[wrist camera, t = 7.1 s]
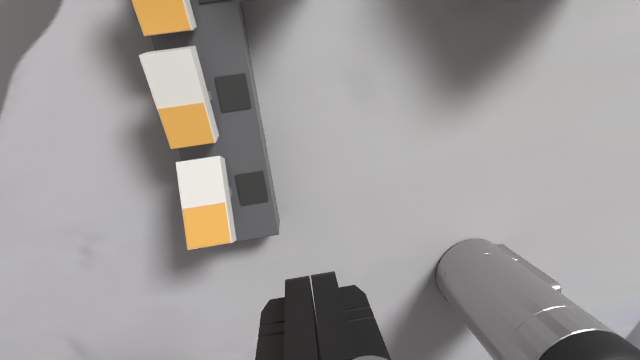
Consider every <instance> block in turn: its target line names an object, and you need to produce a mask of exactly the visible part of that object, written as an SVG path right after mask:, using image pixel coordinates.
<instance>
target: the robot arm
mask: <svg viewBox="0 0 640 360" xmlns="http://www.w3.org/2000/svg"><path fill="white" fill-rule="evenodd" d="M311 279H312V287H313V295H314V302H313V296H312V290H311V284H310V278H309V276H305V277H299V278H293V279H287V280H285V297H283V298H277V299H271V300H269V302H268V303H267V305H266V306H265V307H264V309H263V310H262V312H261V319H260V328H259V335H258V337H259V339H258V342H257V350H256V358H255V360H391V359H390V356H389V354H388V351H387V349H386V346H385V343H384V341H383V338H382V336H381V333H380V330H379V328H378V325H377V323H376V320H375V318H374V315H373V312H372V310H371V308H370V305H369V302H368V299H367V297H366V294H365V293H364V292H363V291H361V290H360V289H359V288H358V287H356V286H355V285H352V286H346V287H340V288H339V287H338V283H337V279H336V275H335V272H334V271H333V272H328V273H322V274H316V275H311ZM436 280H437V285H438V287H439V290H440V291H441V293H442V294H443V295H444V297H445V298H446V300H447V301H448V302H449V303H450V304H451V306H452V307H453V308H454V310H455V311H456V312H457V314H458V315H459V316H460V317H461V319H462V320H463V321H464V323H465V324H466V325H467V326H468V328H469V329H470V330H471V332H472V333H473V334H474V335H475V337H476V338H477V339H478V341H479V342H480V343H481V344H482V346H483V347H484V348H485V350H486V351H487V352H488V353H489V355H490V356H491V357H492V359H493V360H640V350H639V349H638V348H636V347H635V346H633V345H632V344H631V343H629V342H628V341H626V340H625V339H624V338H622V337H621V336H619V335H618V334H616V333H615V332H614V331H612V330H611V329H610V328H608V327H607V326H605V325H604V324H603V323H601V322H600V321H599V320H597V319H596V318H594V317H593V316H592V315H590V314H589V313H587V312H586V311H585V310H583V309H582V308H580V307H579V306H578V305H576V304H575V303H573V302H572V301H571V300H569V299H568V298H567V297H565V296H564V295H562V294H561V286H560V284H559V283H558V282H557V281H555V280H554V279H552V278H551V277H549V276H548V275H546V274H545V273H544V272H542V271H541V270H539V269H538V268H536V267H535V266H533V265H532V264H531V263H529V262H528V261H526V260H525V259H523V258H522V257H520V256H519V255H518V254H516V253H515V252H513V251H512V250H510V249H509V248H508V247H506V246H505V245H494V244H492V243H490V242H489V241H486V240H482V239H470V240H465V241H463V242H460V243H458V244H456V245H455V246H453V247H452V248H450V249H449V250H448V251H447V252H446V253H445V254H444V256H443V257H442V258H441V260H440V262H439V264H438V268H437V271H436ZM314 303H315V309H314ZM315 311H316V315H315ZM316 319H317V321H316Z"/></svg>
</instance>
